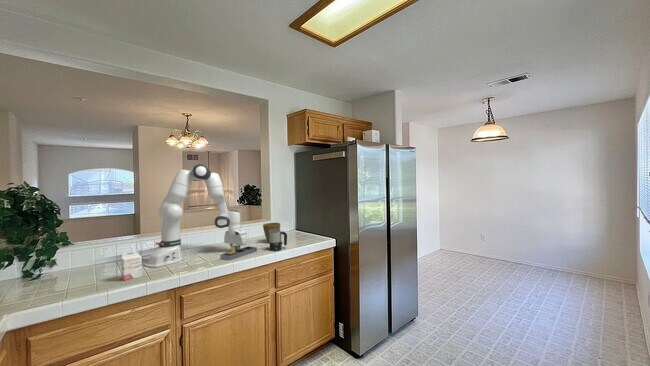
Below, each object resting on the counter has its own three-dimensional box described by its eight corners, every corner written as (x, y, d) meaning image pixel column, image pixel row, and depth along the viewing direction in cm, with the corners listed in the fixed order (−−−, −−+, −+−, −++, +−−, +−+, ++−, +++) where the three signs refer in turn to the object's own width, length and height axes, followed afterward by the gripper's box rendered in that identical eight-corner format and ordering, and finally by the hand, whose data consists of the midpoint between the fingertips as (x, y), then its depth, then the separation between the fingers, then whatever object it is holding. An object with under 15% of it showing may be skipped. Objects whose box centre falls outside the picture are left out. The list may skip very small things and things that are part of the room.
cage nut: (235, 253, 196) (234, 246, 196) (230, 252, 198) (230, 246, 198) (239, 251, 200) (239, 245, 200) (235, 251, 202) (235, 244, 202)
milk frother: (272, 252, 196) (272, 232, 196) (263, 248, 209) (262, 229, 209) (289, 248, 205) (288, 229, 205) (279, 245, 218) (278, 227, 218)
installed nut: (230, 259, 178) (230, 252, 178) (225, 258, 181) (225, 251, 181) (235, 257, 182) (235, 250, 182) (231, 256, 185) (230, 249, 185)
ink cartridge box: (124, 281, 144) (123, 253, 144) (121, 279, 147) (120, 252, 147) (142, 276, 150) (141, 250, 150) (139, 274, 154) (138, 249, 154)
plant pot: (265, 240, 236) (265, 222, 236) (282, 240, 235) (281, 222, 235) (261, 244, 221) (260, 225, 221) (278, 244, 220) (278, 225, 220)
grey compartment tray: (230, 261, 175) (229, 256, 175) (220, 259, 180) (220, 254, 180) (256, 252, 197) (256, 247, 197) (248, 250, 202) (247, 246, 202)
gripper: (221, 231, 201) (222, 249, 201) (241, 233, 192) (241, 252, 192) (228, 230, 207) (229, 247, 207) (247, 231, 197) (248, 250, 197)
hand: (235, 250), depth 199 cm, fingers closed on cage nut, 5 cm apart
